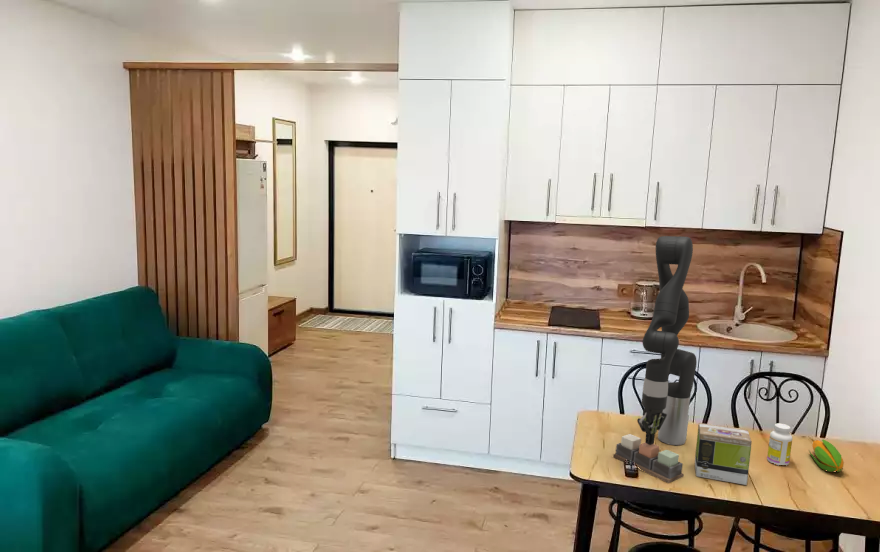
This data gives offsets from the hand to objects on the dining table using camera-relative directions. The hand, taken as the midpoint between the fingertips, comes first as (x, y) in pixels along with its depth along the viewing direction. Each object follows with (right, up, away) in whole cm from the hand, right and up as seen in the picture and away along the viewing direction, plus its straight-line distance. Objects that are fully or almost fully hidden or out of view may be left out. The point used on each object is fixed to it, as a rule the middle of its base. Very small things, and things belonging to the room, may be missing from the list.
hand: (649, 443), depth 208 cm
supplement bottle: (+46, -9, +9) cm, 48 cm away
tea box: (+22, -10, -2) cm, 24 cm away
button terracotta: (0, -4, +1) cm, 5 cm away
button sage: (+4, -6, -5) cm, 8 cm away
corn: (+62, -10, +10) cm, 63 cm away
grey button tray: (0, -8, +1) cm, 8 cm away
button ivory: (-4, -3, +6) cm, 8 cm away
